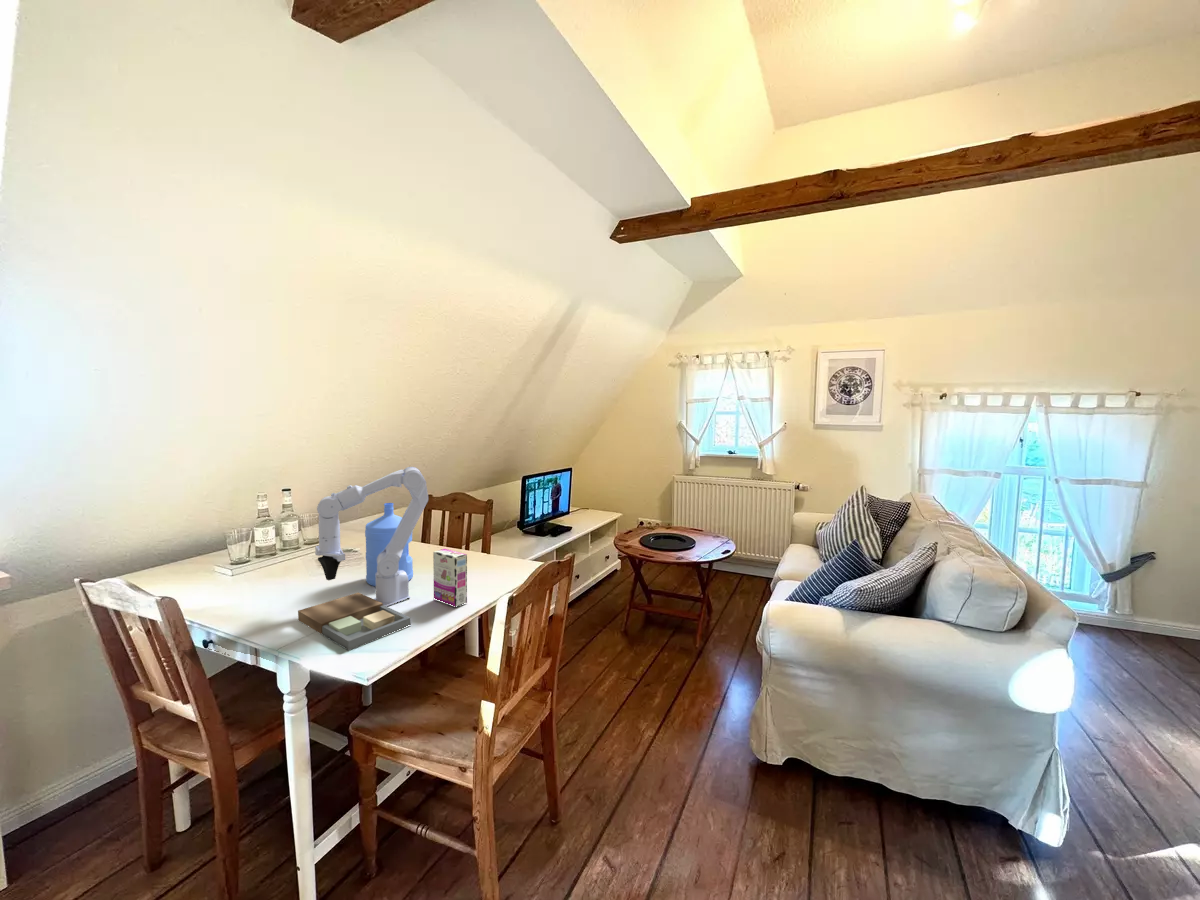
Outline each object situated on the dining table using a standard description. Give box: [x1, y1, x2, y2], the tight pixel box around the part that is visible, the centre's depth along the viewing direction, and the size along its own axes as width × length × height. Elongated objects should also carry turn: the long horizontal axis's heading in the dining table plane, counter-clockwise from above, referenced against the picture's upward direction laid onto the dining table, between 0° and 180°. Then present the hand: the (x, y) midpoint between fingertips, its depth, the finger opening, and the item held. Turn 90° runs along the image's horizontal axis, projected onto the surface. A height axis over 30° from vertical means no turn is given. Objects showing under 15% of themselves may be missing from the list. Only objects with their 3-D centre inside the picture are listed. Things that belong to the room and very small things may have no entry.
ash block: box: [363, 610, 395, 630], centre depth 141 cm, size 6×6×2 cm
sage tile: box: [329, 616, 361, 636], centre depth 136 cm, size 6×6×2 cm
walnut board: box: [297, 592, 383, 635], centre depth 147 cm, size 18×14×3 cm
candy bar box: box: [432, 548, 468, 608], centre depth 159 cm, size 11×5×16 cm, turn 56°
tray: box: [321, 605, 412, 651], centre depth 138 cm, size 18×14×2 cm
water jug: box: [364, 502, 414, 587], centre depth 176 cm, size 16×16×28 cm
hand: (330, 579), depth 151 cm, fingers closed
